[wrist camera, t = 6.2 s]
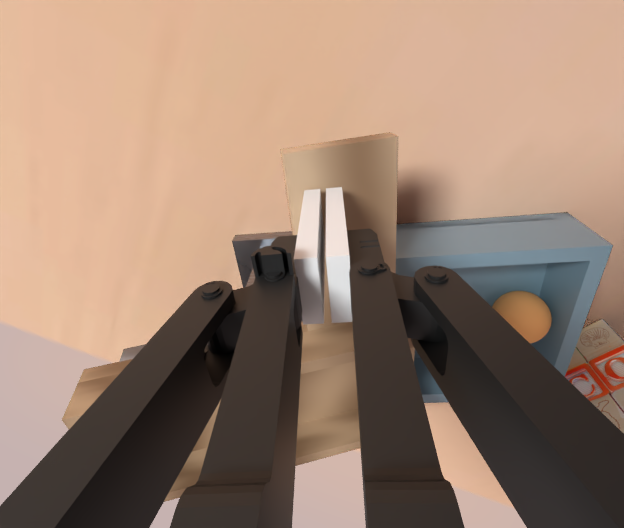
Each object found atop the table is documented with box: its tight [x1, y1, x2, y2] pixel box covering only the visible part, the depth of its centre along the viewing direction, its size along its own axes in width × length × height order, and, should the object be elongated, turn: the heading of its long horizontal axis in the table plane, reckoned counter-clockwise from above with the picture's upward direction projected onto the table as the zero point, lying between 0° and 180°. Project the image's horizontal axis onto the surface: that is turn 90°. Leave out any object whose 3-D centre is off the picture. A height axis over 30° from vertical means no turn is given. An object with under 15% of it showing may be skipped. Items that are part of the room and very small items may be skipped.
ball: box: [492, 291, 552, 344], centre depth 27 cm, size 4×4×4 cm
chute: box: [62, 132, 415, 502], centre depth 22 cm, size 20×20×6 cm
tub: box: [396, 212, 613, 403], centre depth 28 cm, size 13×14×5 cm
